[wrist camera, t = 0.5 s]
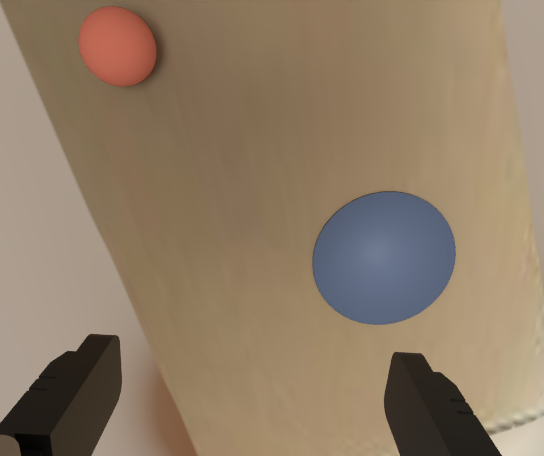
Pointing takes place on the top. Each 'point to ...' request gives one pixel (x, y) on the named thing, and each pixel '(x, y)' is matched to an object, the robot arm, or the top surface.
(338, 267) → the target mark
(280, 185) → the top surface
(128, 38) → the ball
